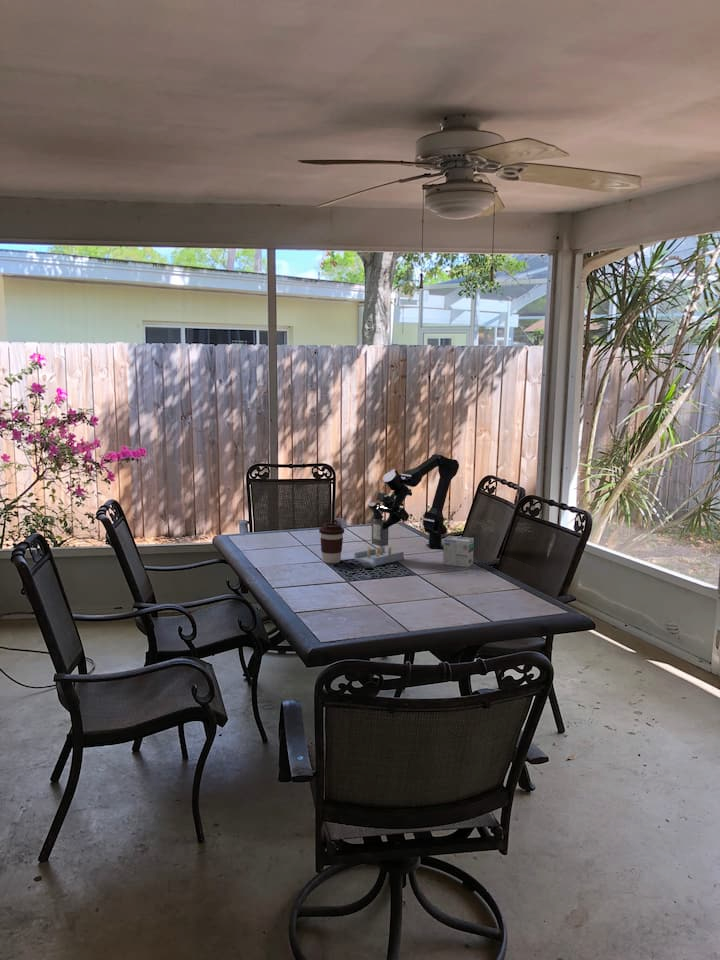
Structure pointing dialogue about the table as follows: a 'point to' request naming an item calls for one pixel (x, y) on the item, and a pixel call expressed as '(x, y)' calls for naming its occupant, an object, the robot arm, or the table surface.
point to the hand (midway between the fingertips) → (377, 527)
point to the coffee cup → (331, 542)
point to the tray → (378, 556)
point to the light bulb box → (458, 551)
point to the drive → (379, 532)
